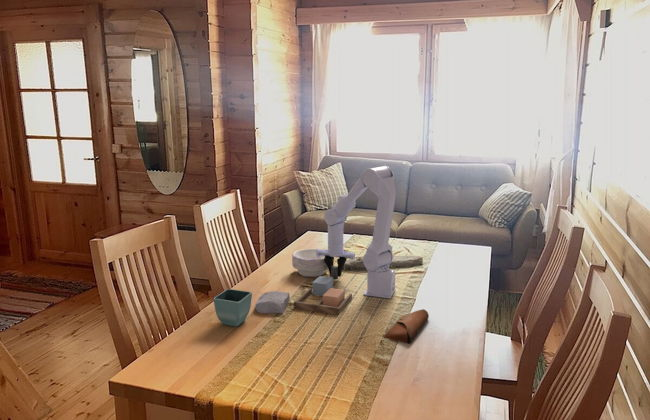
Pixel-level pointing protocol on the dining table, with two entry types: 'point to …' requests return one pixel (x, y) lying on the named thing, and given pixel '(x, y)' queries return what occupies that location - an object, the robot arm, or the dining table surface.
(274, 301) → the stone block
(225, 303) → the flower pot
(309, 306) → the lane rack
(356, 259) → the long grey stone
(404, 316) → the sunglasses case
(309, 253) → the paper bowls
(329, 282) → the grey mallet
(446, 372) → the dining table surface
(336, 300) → the terracotta block
